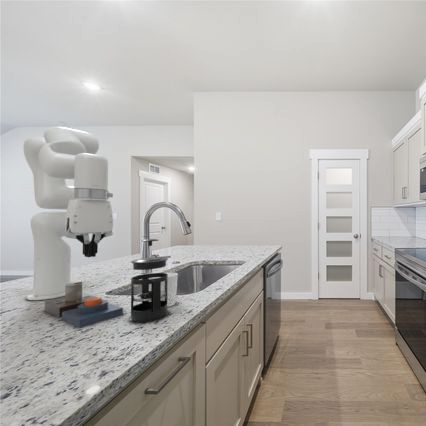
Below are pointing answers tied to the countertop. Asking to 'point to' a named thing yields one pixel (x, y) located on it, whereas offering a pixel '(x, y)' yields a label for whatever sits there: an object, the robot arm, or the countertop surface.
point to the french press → (149, 290)
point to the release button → (93, 301)
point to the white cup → (170, 288)
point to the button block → (92, 314)
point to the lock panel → (64, 305)
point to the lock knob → (73, 291)
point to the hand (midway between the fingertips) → (90, 256)
